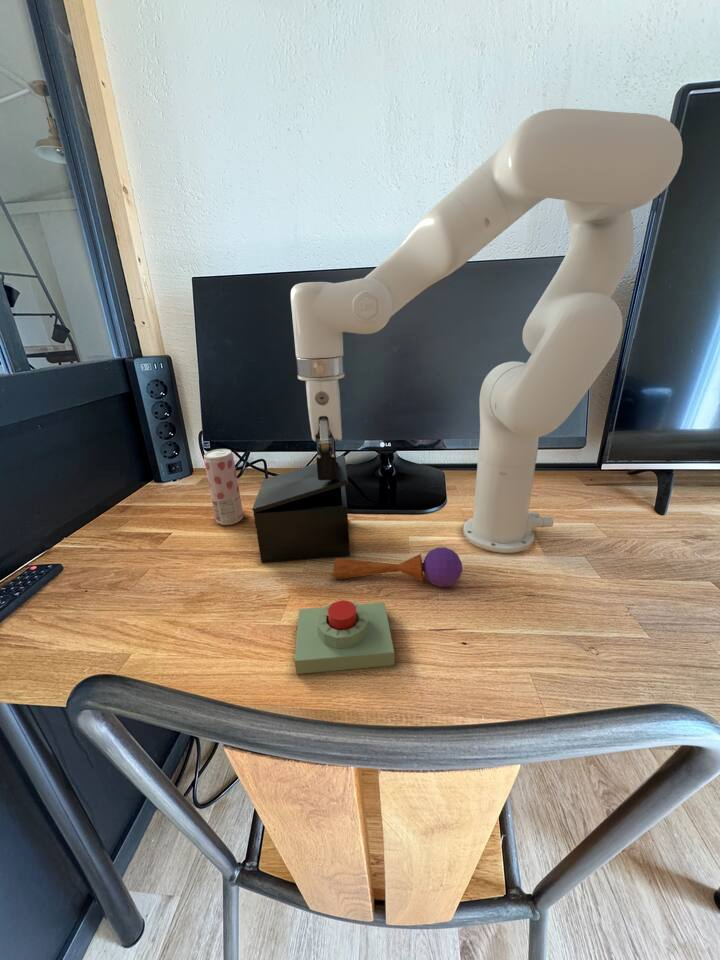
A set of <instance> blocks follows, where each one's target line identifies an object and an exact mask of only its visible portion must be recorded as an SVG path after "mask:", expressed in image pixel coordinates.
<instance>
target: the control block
mask: <svg viewBox="0 0 720 960" xmlns="http://www.w3.org/2000/svg"><path fill="white" fill-rule="evenodd" d="M348 601H349V602H352V603H353V604H354V605H355V607H356V615H357V621H356V624H355V625H354V626H353V627H352V628H350V629H348V630H340V631H339V630H336V629H333V628H332V627H331V626H330V624H329V618H328V608H329V607H330V605H331V604H333V603H334V602H332V603H330V604H328V605H326V606H322V607H309V608H299V609H298V619H297V628H296V629H297V630H296V640H295V652H294V666H295V667H294V669H295V674H296V675H304V674H313V673H314V674H315V673H325V672H335V671H347V670H358V669H370V668H381V667H390V666H395V649H394V642H393V639H392V633H391V628H390V622H389V618H388V613H387V612H388V611H387V607H386V603H385V601H383V602H370V603H357V602H353V601H350V600H348Z"/></svg>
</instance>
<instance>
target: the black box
mask: <svg viewBox="0 0 720 960" xmlns="http://www.w3.org/2000/svg"><path fill="white" fill-rule="evenodd" d="M346 492H347V491H346V485H345V486H342V487H339V488H335V489H332V490H329V491H325V492H322V493H319V494H315V495H312V496H309V497H305V498H302V499H299V500H296V501H292V502H289V503H286V504H282V505H279V506H276V507H272V508H269V509H266V510H262V511H259V512H256V513H254V512H253V519H254V526H255V532H256V538H257V543H258V550H259V557H260V562H261V563H262V564H264V563H277V562H288V561H289V562H292V561H302V560H305V561H306V560H315V559H316V560H318V559H319V560H320V559H330V558H345V557H350V556H351V551H350V533H349V532H350V531H349V517H348V516H349V515H348V513H349V512H348V502H347V493H346Z"/></svg>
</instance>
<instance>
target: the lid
mask: <svg viewBox="0 0 720 960" xmlns="http://www.w3.org/2000/svg"><path fill="white" fill-rule="evenodd" d="M346 463H347V462H346V457H345V455H344V454H343V455H339V456H336V467H337V479H335V480H318V473H317V462H316V463H313V464H310V465H307V466H303V467H299V468H297V469H293V470H290V471H287V472H284V473H281V474H280V473H279V474H277V475H274V476H269V477H268V478H263V479H262V482H261V485H260V488H259V490H258V493H257V496H256V498H255V501H254V503H253V505H252V512H253V514H254V513H256V512H259V511H262V510H266V509H269V508H272V507H276V506H279V505H282V504H286V503H289V502H292V501H296V500H299V499H302V498H305V497H309V496H312V495H315V494H319V493H322V492H325V491H329V490H332V489H335V488H339V487H342V486H345V487H346V486H348V485H349V480H348V473H347V464H346Z"/></svg>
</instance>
